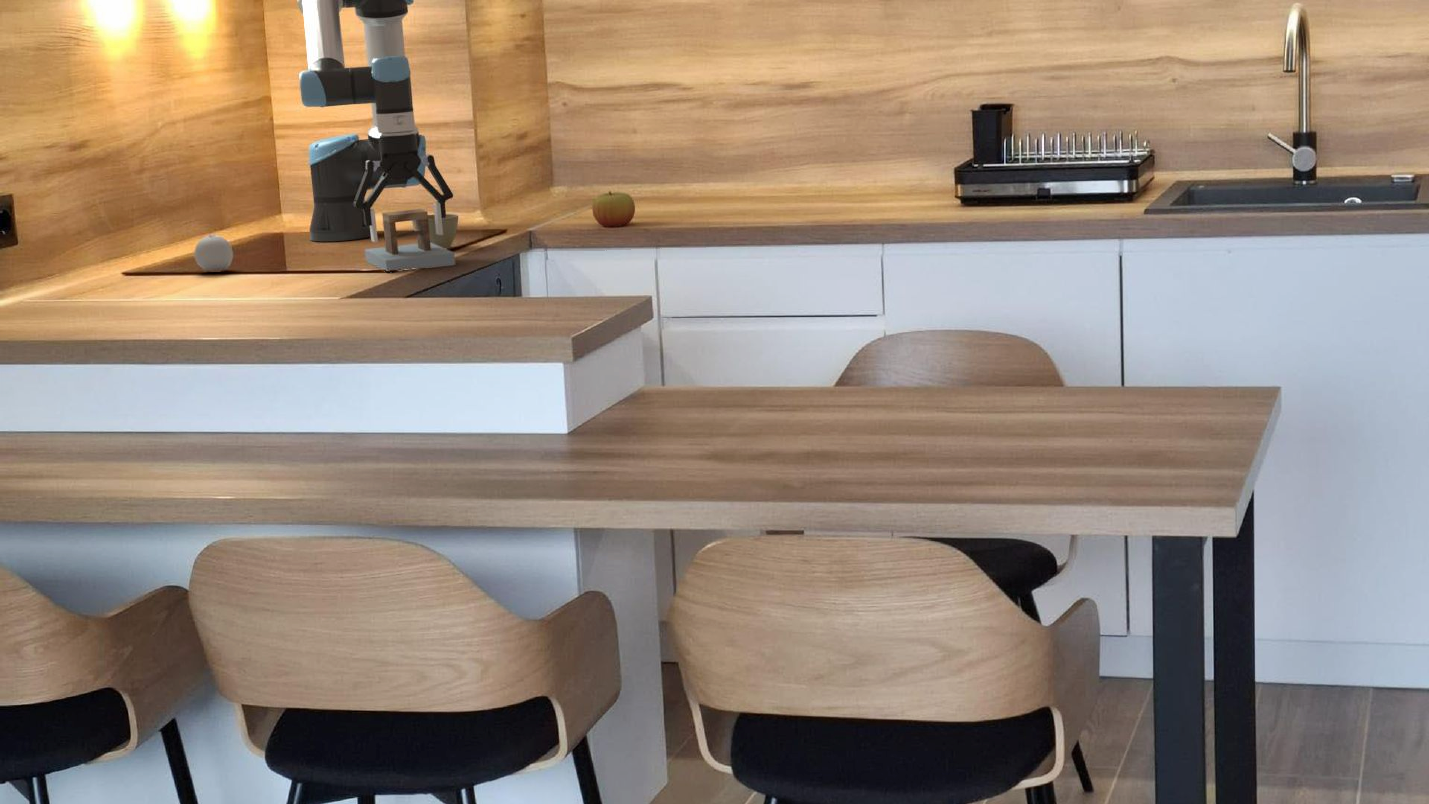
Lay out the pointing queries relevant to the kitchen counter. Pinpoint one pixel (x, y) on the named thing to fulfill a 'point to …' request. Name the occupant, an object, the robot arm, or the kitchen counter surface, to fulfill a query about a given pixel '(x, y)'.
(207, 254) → the grey ball
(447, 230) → the flower pot
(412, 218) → the stool
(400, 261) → the plinth
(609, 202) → the apple
